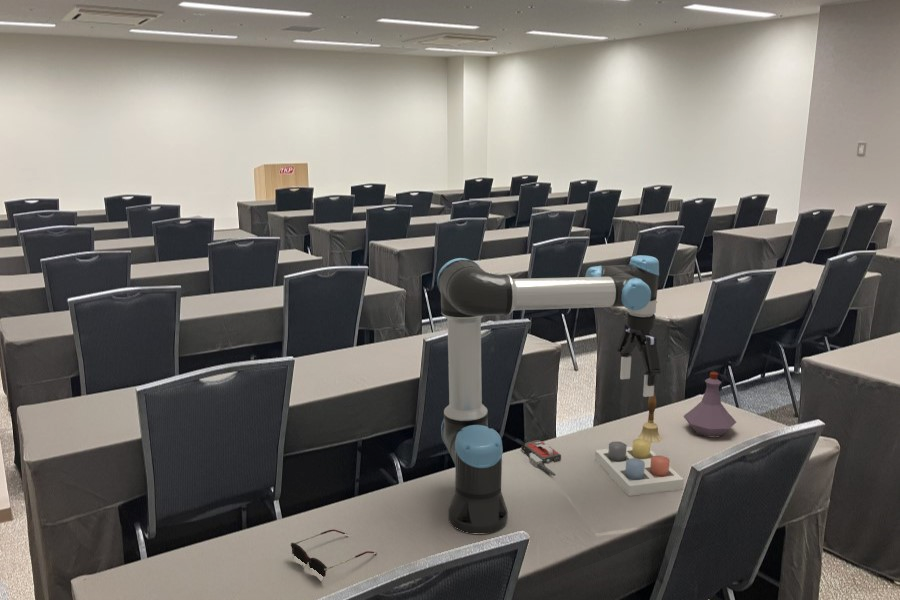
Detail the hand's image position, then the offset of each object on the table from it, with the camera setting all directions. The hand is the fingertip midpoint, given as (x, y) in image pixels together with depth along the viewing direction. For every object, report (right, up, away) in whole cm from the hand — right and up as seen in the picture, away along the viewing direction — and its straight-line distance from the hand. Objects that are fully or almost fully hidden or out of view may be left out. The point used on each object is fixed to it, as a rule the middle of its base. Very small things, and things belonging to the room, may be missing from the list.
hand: (636, 387), depth 209 cm
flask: (+32, -19, +36) cm, 52 cm away
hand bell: (+11, -21, +29) cm, 38 cm away
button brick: (+7, -24, +1) cm, 25 cm away
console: (+2, -26, +6) cm, 27 cm away
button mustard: (+4, -21, +11) cm, 24 cm away
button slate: (-1, -24, -1) cm, 24 cm away
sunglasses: (-78, -37, -32) cm, 92 cm away
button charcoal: (-3, -22, +10) cm, 24 cm away
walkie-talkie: (-23, -25, +15) cm, 37 cm away
